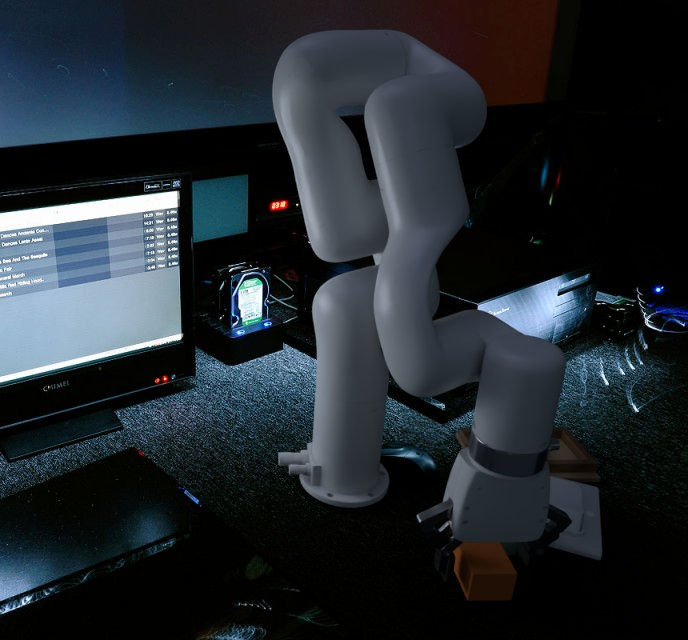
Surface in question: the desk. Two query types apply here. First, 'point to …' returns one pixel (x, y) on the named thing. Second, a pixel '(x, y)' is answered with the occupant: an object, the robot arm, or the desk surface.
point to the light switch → (578, 517)
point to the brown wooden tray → (559, 456)
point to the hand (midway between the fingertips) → (482, 573)
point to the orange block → (484, 571)
